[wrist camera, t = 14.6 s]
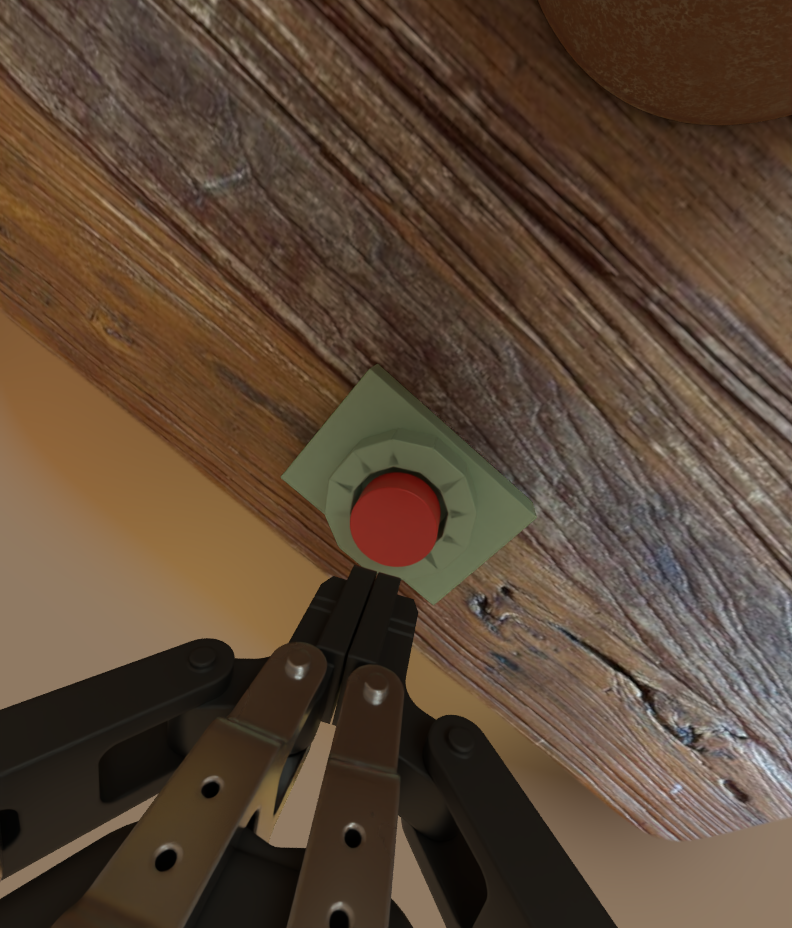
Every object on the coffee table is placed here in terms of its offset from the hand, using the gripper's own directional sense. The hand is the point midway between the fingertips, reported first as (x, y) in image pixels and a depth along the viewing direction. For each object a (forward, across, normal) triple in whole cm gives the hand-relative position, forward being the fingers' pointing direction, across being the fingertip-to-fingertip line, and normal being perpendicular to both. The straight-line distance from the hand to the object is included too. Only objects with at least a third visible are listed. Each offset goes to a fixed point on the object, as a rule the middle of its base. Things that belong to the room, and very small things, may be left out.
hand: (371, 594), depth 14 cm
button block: (+9, 0, 0) cm, 9 cm away
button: (+6, 0, 0) cm, 6 cm away
